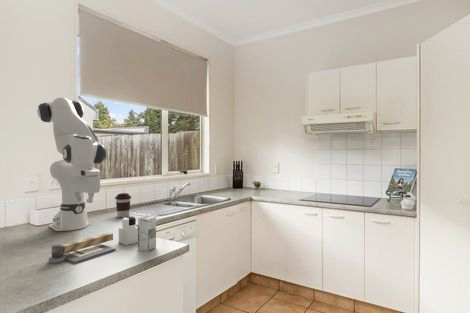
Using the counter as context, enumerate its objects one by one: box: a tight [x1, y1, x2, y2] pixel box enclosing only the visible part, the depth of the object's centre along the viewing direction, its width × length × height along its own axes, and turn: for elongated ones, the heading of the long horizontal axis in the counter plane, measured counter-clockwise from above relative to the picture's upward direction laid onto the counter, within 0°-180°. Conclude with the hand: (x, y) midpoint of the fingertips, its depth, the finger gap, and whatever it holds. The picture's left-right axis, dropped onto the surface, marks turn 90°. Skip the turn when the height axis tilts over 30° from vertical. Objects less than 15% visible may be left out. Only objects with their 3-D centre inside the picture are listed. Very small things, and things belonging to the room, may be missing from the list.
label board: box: [48, 243, 117, 265], centre depth 124 cm, size 16×23×2 cm
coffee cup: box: [114, 192, 132, 218], centre depth 197 cm, size 10×10×15 cm
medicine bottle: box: [118, 216, 138, 246], centre depth 141 cm, size 7×7×12 cm
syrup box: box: [137, 215, 157, 252], centre depth 132 cm, size 6×6×14 cm
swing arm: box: [51, 232, 114, 258], centre depth 127 cm, size 26×4×4 cm, turn 148°
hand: (84, 201), depth 132 cm, fingers open, 8 cm apart
